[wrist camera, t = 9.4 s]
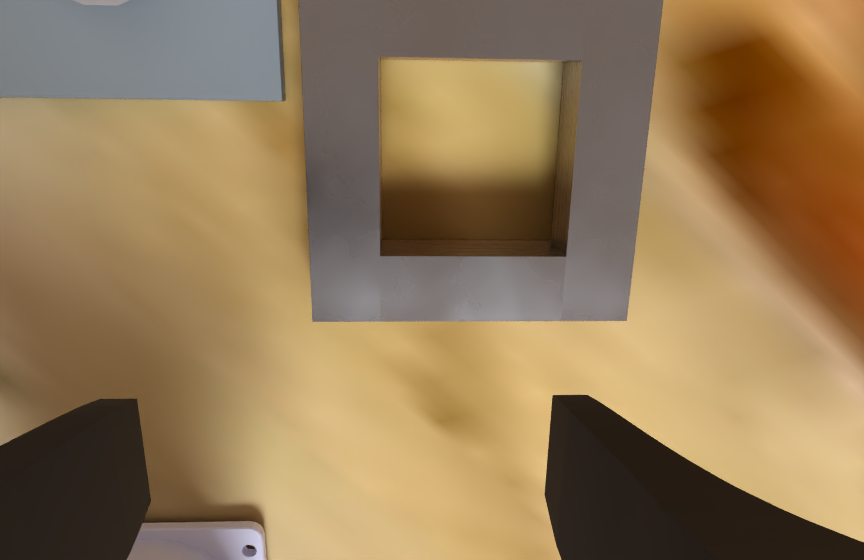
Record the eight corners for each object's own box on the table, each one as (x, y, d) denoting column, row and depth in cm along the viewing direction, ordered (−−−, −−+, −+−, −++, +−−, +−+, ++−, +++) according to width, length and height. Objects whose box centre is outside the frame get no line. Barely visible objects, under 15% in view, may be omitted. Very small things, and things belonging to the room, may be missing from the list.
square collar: (606, 298, 21) (626, 320, 19) (320, 299, 21) (312, 321, 19) (637, -10, 18) (665, -21, 16) (308, -18, 18) (297, -30, 16)
